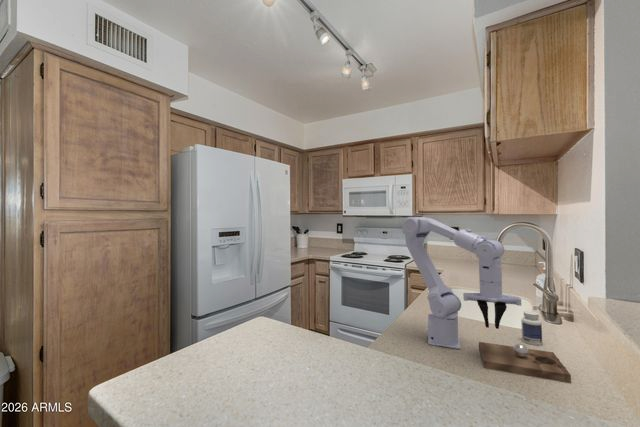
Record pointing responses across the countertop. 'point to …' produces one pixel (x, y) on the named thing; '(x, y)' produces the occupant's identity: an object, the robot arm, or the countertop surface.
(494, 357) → the walnut board
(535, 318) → the pill bottle
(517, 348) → the steel ball
